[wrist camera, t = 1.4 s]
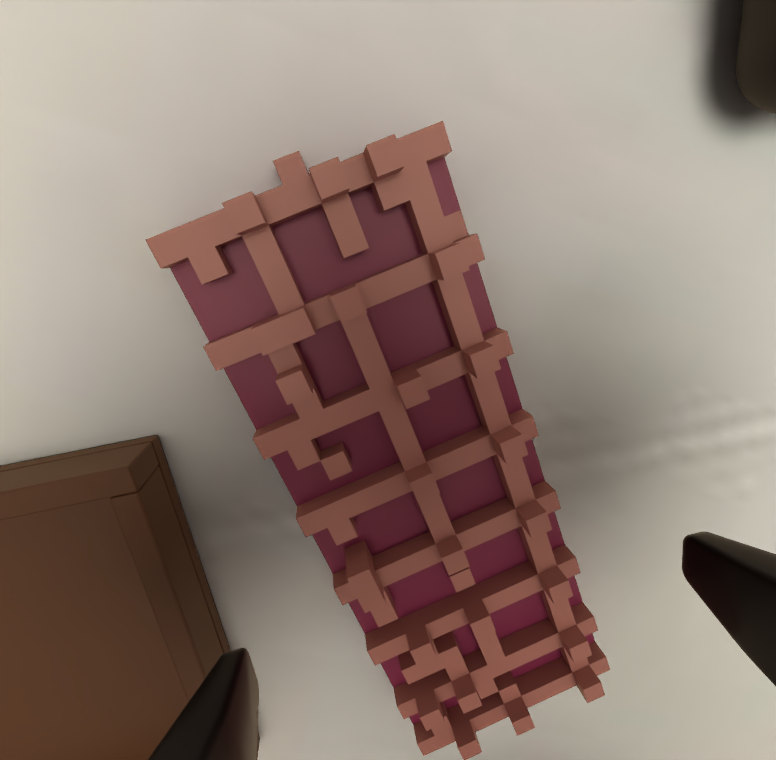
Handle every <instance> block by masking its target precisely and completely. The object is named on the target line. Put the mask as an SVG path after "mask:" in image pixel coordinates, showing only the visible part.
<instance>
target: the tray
mask: <svg viewBox="0 0 776 760" xmlns="http://www.w3.org/2000/svg"><path fill="white" fill-rule="evenodd" d="M228 651H230V649H229V646H228V643H227V640H226V637H225V634H224V631H223V628H222V625H221V622H220V619H219V616H218V613H217V610H216V607H215V604H214V601H213V598H212V595H211V592H210V589H209V586H208V583H207V580H206V577H205V574H204V571H203V568H202V565H201V562H200V559H199V556H198V554H197V551H196V548H195V545H194V542H193V539H192V536H191V533H190V530H189V527H188V524H187V521H186V518H185V515H184V512H183V509H182V506H181V503H180V500H179V497H178V494H177V491H176V488H175V485H174V482H173V479H172V476H171V473H170V470H169V467H168V464H167V461H166V458H165V455H164V452H163V450H162V447H161V444H160V441H159V438H158V436H157V435H155V436H150V437H145V438H140V439H134V440H129V441H124V442H119V443H114V444H109V445H104V446H99V447H94V448H89V449H84V450H79V451H74V452H69V453H64V454H59V455H54V456H49V457H44V458H39V459H34V460H29V461H24V462H19V463H14V464H9V465H4V466H0V760H148V759H149V757H150V756H151V754H152V753H153V751H154V750H155V749H156V747H157V746H158V744H159V743H160V742H161V740H162V739H163V737H164V736H165V735H166V733H167V732H168V730H169V729H170V727H171V726H172V725H173V723H174V722H175V720H176V719H177V718H178V716H179V715H180V713H181V712H182V710H183V709H184V708H185V706H186V705H187V703H188V702H189V701H190V699H191V698H192V696H193V695H194V693H195V692H196V691H197V689H198V688H199V686H200V685H201V684H202V682H203V681H204V679H205V678H206V676H207V675H208V674H209V672H210V671H211V669H212V668H213V667H214V665H215V664H216V662H217V661H218V659H219V658H220V657H221V656H222V655H223V654H224V653H225V652H228ZM259 740H260V738H259V735H258V732H257V757H258V748H259ZM257 757H256V760H257Z"/></svg>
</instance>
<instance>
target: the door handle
mask: <svg viewBox="0 0 776 760" xmlns="http://www.w3.org/2000/svg"><path fill="white" fill-rule="evenodd" d="M736 73H737V80H738V84H739V87H740V89H741V91H742V93H743V95H744V96H745V97H746V99H747V100H748V101H749V102H750V103H752V104H753V105H754V106H756V107H758V108H759V109H762V110H764V111H767V112H771V113H776V0H744V3H743V12H742V20H741V29H740V38H739V47H738V56H737V65H736Z"/></svg>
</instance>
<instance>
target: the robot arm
mask: <svg viewBox="0 0 776 760" xmlns="http://www.w3.org/2000/svg"><path fill="white" fill-rule="evenodd" d="M682 570H683V574H684V576H685V578H686V580H687V581H688V583H689V584H690V585H691V586H692V588H693V589H694V590H695V591H696V593H697V594H698V595H699V596H700V598H701V599H702V600H703V601H704V603H705V604H706V605H707V606H708V608H709V609H710V610H711V611H712V613H713V614H714V615H715V616H716V618H717V619H718V620H719V621H720V623H721V624H722V625H723V626H724V628H725V629H726V630H727V631H728V633H729V634H730V635H731V636H732V638H733V639H734V640H735V641H736V643H737V644H738V645H739V646H740V647H741V649H742V650H743V651H744V652H745V653H746V654H747V656H748V657H749V658H750V659H751V660H752V661H753V662H754V663H755V664H756V666H757V667H758V668H759V669H760V670H761V671H762V672H763V673H764V674H765V675H766V676H767V677H768V678H769V679H770V681H771V682H772V683H773V684H774V685H775V686H776V554H773V553H770V552H767V551H764V550H761V549H758V548H755V547H752V546H749V545H746V544H742V543H739V542H736V541H733V540H730V539H727V538H724V537H721V536H718V535H715V534H712V533H709V532H699V533H695V534H691V535H687V536H686V537H685V538H684V540H683V554H682ZM258 704H259V687H258V680H257V677H256V674H255V671H254V668H253V665H252V661H251V658H250V655H249V652H248V651H247V649H245V648H240V649H236V650H232V651H228V652H225V653H224V654H223V655H222V656H221V657H220V658H219V659H218V661H217V662H216V664H215V665H214V667H213V668H212V669H211V671H210V672H209V674H208V675H207V676H206V678H205V679H204V681H203V682H202V684H201V685H200V686H199V688H198V689H197V691H196V692H195V693H194V695H193V696H192V698H191V699H190V701H189V702H188V703H187V705H186V706H185V708H184V709H183V710H182V712H181V713H180V715H179V716H178V718H177V719H176V720H175V722H174V723H173V725H172V726H171V727H170V729H169V730H168V732H167V733H166V735H165V736H164V737H163V739H162V740H161V742H160V743H159V744H158V746H157V747H156V749H155V750H154V751H153V753H152V754H151V756H150V757H149V759H148V760H256V757H257V730H258Z"/></svg>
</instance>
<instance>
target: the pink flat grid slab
mask: <svg viewBox="0 0 776 760" xmlns="http://www.w3.org/2000/svg"><path fill="white" fill-rule="evenodd" d="M451 151H452V149H451V146H450V143H449V140H448V136H447V133H446V130H445V126H444V123H443V121H441V122H439V123H436V124H434V125H431V126H429V127H426V128H424V129H421V130H419V131H416V132H414V133H411V134H409V135H406V136H404V137H401V138H399V139H396V136H395V134H393V135H391V136H388V137H386V138H383V139H381V140H378V141H376V142H373V143H371V144H368V145H366V147H365V150H364V152H363V153H361V154H359V155H356V156H354V157H351V158H349V159H346V160H344V161H341V162H340V161H339V158H338V157H336V158H333V159H331V160H328V161H326V162H323V163H321V164H318V165H316V166H313V167H311V168H309V172H310V174H309V175H308V172H307V170H306V167H305V165H304V163H303V160H302V158H301V155H300V153H299V151H297V152H294V153H292V154H289V155H287V156H284V157H282V158H279V159H277V160H274V161H273V163H274V165H275V167H276V170H277V172H278V174H279V177H280V179H281V182H282V184H283V185H281V186H279V187H276V188H274V189H271V190H269V191H266V192H264V193H261V194H259V195H256V196H255V195H254V194H253V193H252V192H248V193H246V194H243V195H241V196H238V197H236V198H233V199H231V200H228V201H226V202H223V203H222V204H223V206H224V209H221V210H219V211H216V212H214V213H211V214H209V215H206V216H204V217H201V218H199V219H196V220H194V221H191V222H189V223H186V224H184V225H181V226H179V227H176V228H174V229H171V230H169V231H166V232H164V233H161V234H159V235H156V236H154V237H151V238H149V239H146V242H147V244H148V246H149V247H150V249H151V251H152V253H153V255H154V257H155V259H156V260H157V262H158V264H159V266H160V268H170V269H171V270H172V272H173V274H174V276H175V278H176V280H177V282H178V284H179V285H180V287H181V289H182V291H183V293H184V295H185V297H186V299H187V300H188V302H189V304H190V306H191V308H192V310H193V312H194V314H195V315H196V317H197V319H198V321H199V323H200V325H201V327H202V329H203V330H204V332H205V334H206V336H207V338H208V340H209V343H208V344H206V345H205V346H204V347H203V348H204V349H205V351H206V353H207V355H208V357H209V359H210V361H211V362H212V364H213V366H214V368H215V370H216V371H218V370H220V369H223V368H224V370H225V372H226V374H227V376H228V377H229V379H230V381H231V383H232V385H233V387H234V389H235V391H236V392H237V394H238V396H239V398H240V400H241V402H242V404H243V406H244V407H245V409H246V411H247V413H248V415H249V417H250V419H251V421H252V423H253V424H254V426H255V428H256V431H255V434H254V437H253V440H254V442H255V444H256V446H257V448H258V450H259V451H260V453H261V455H262V457H263V459H264V460H265V459H267V458H270V457H271V458H272V460H273V462H274V464H275V466H276V468H277V469H278V471H279V473H280V475H281V477H282V479H283V481H284V483H285V484H286V486H287V488H288V490H289V492H290V494H291V496H292V498H293V500H294V501H295V503H296V505H297V512H296V520H297V522H298V524H299V526H300V527H301V529H302V531H303V533H304V535H305V537H308V536H310V535H313V537H314V539H315V541H316V543H317V545H318V546H319V548H320V550H321V552H322V554H323V556H324V558H325V560H326V562H327V563H328V565H329V567H330V569H331V571H332V573H333V584H334V590H335V592H336V594H337V596H338V598H339V600H340V602H341V603H342V605H344V604H346V603H349V605H350V607H351V608H352V610H353V612H354V614H355V616H356V618H357V620H358V622H359V623H360V625H361V627H362V629H363V631H364V633H365V637H366V645H367V652H368V653H369V655H370V657H371V659H372V661H373V663H374V665H377V664H379V663H381V665H382V667H383V669H384V670H385V672H386V674H387V676H388V678H389V680H390V682H391V684H392V685H393V687H394V692H395V698H396V703H397V707H398V709H399V711H400V713H401V715H402V717H403V718H404V719H405V718H408V717H410V719H411V721H412V723H413V725H414V730H415V735H416V740H417V744H418V746H419V748H420V750H421V752H422V754H423V755H427V754H429V753H431V752H433V751H435V750H437V749H440V748H442V747H444V746H446V745H448V744H450V743H453V742H455V741H456V743H457V747H458V749H459V751H460V753H461V755H462V757H463V759H464V760H466V759H468V758H470V757H473V756H475V755H477V754H479V753H481V752H482V751H481V748H480V745H479V742H478V739H477V736H476V733H475V732H476V731H479V730H481V729H483V728H485V727H487V726H489V725H491V724H494V723H496V722H498V721H500V720H502V719H504V718H507V717H510V720H511V722H512V724H513V727H514V729H515V731H516V734H517V736H518V735H520V734H522V733H524V732H526V731H529V730H531V729H533V728H535V726H534V724H533V721H532V719H531V716H530V714H529V712H528V710H527V708H528V707H530V706H533V705H535V704H537V703H539V702H541V701H543V700H546V699H548V698H550V697H552V696H554V695H556V694H559V693H561V692H563V691H565V690H567V689H569V688H572V687H574V686H576V685H577V687H578V688H579V690H580V692H581V693H582V695H583V696H584V698H585V700H586V701H587V703H589V702H591V701H593V700H595V699H597V698H600V697H602V696H604V695H605V694H604V691H603V687H602V684H601V682H600V680H599V679H598V677H597V675H600V674H602V673H604V672H606V671H608V670H610V668H609V665H608V662H607V658H606V656H605V655H604V653H603V652H602V651H601V649H600V648H599V646H598V645H597V644H596V642H595V640H594V637H593V634H592V633H593V632H596V631H598V629H597V625H596V622H595V619H594V616H593V615H592V614H591V612H590V611H589V610H588V608H587V607H586V606H585V605H584V603H583V602H582V599H581V595H580V592H579V589H578V586H577V583H576V579H575V576H574V575H577V574H579V573H580V570H579V566H578V563H577V560H576V557H575V556H574V555H573V554H572V552H571V551H570V550H569V549H568V548H567V547H566V546H565V544H564V541H563V538H562V534H561V531H560V528H559V525H558V521H557V518H556V515H555V512H554V511H556V510H558V509H560V508H561V507H560V504H559V501H558V497H557V494H556V491H555V490H554V489H553V488H552V487H551V486H550V485H549V484H548V483H547V482H546V481H545V480H544V476H543V473H542V470H541V467H540V464H539V460H538V457H537V454H536V451H535V448H534V444H533V441H532V439H533V438H535V437H537V436H539V435H538V432H537V429H536V425H535V422H534V419H533V416H532V415H530V414H529V413H528V412H526V411H525V410H524V409H522V406H521V403H520V399H519V396H518V393H517V390H516V386H515V383H514V380H513V377H512V374H511V370H510V367H509V364H508V361H507V358H506V357H507V356H509V355H511V354H514V353H513V350H512V346H511V343H510V340H509V337H508V333H507V331H505V330H502V329H500V328H497V325H496V322H495V319H494V316H493V313H492V309H491V306H490V303H489V300H488V296H487V293H486V290H485V287H484V284H483V280H482V277H481V274H480V271H479V268H478V264H477V263H478V262H480V261H482V260H485V258H484V255H483V251H482V248H481V245H480V241H479V238H478V235H477V234H472V235H468V232H467V229H466V226H465V222H464V219H463V216H462V213H461V210H460V206H459V203H458V200H457V197H456V194H455V190H454V187H453V184H452V181H451V177H450V174H449V171H448V168H447V165H446V161H445V158H444V157H445V156H446V155H447V154H448V153H450V152H451Z"/></svg>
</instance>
